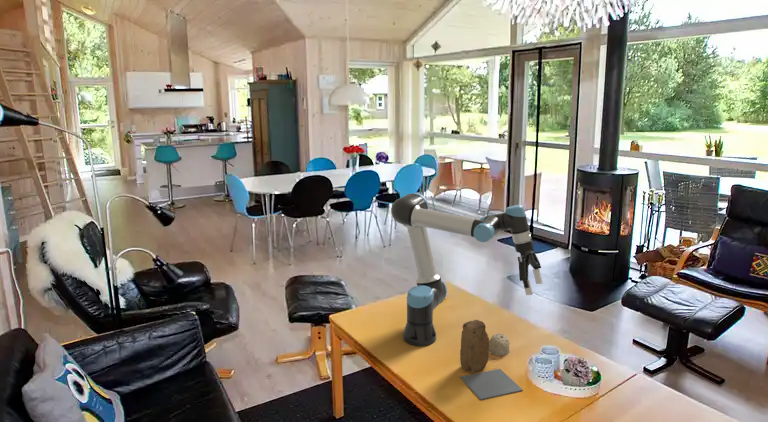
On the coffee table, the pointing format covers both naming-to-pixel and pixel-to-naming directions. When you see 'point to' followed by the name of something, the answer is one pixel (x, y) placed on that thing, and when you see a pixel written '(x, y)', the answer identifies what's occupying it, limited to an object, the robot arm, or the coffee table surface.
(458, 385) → the coffee table surface
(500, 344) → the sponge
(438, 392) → the coffee table surface
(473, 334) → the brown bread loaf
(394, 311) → the coffee table surface
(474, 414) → the coffee table surface
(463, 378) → the mat
